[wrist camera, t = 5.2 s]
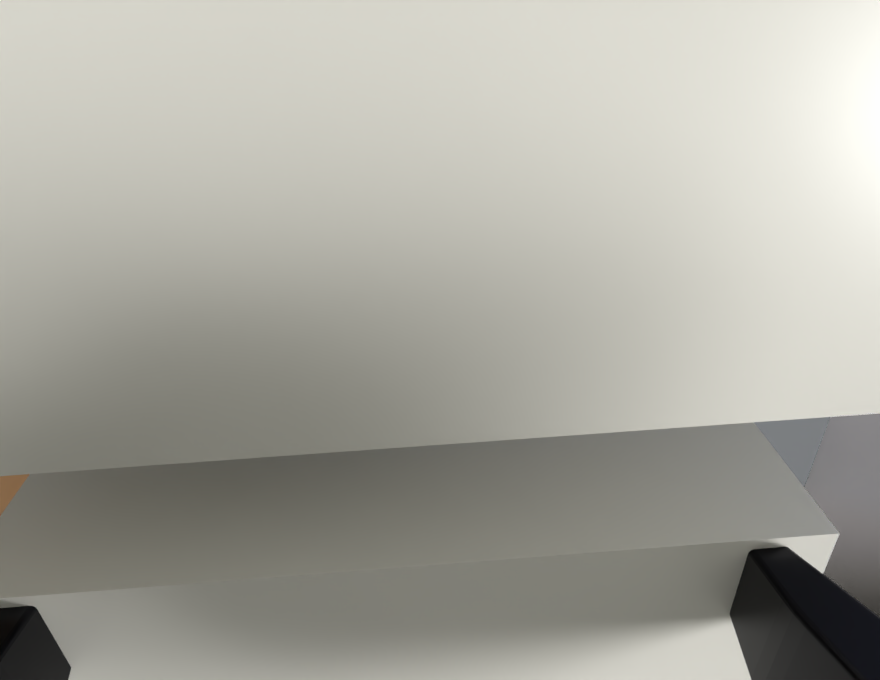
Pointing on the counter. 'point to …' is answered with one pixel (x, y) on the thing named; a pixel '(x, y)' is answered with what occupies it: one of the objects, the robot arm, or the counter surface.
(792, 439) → the switch base
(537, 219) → the rocker
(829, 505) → the counter surface
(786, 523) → the block
